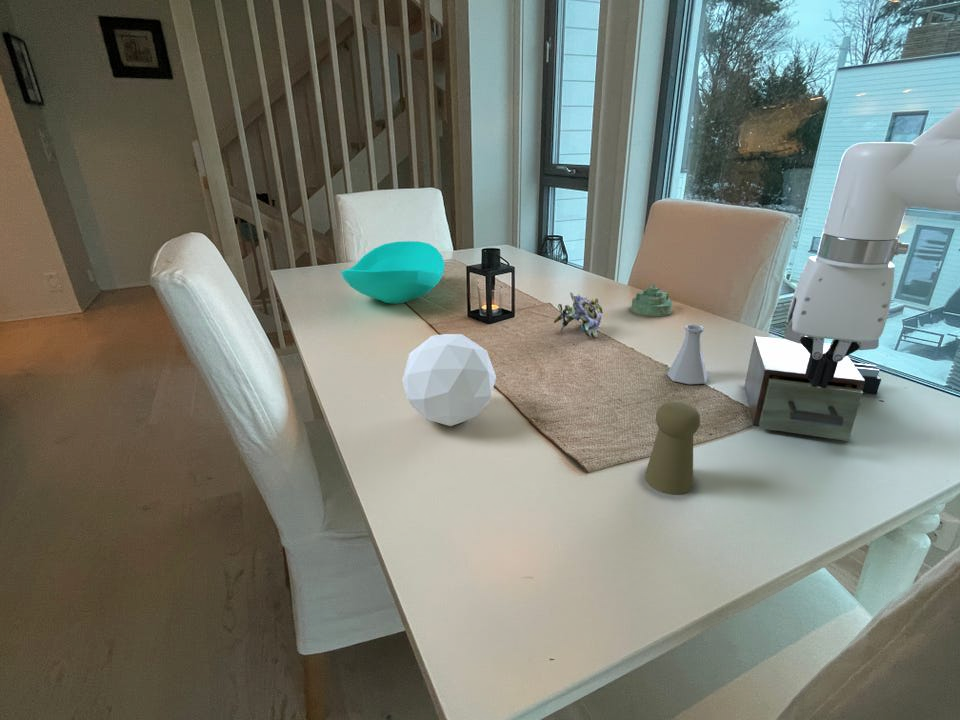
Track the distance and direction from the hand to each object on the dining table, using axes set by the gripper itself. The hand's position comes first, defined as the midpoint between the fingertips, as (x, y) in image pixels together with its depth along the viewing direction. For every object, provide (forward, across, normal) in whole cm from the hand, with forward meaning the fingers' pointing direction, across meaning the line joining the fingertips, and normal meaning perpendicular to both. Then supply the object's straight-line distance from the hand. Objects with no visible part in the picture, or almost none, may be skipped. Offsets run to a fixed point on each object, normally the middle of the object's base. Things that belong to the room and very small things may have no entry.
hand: (816, 383), depth 71 cm
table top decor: (+11, +94, -48) cm, 106 cm away
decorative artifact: (+10, +24, -59) cm, 65 cm away
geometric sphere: (+11, +52, +9) cm, 53 cm away
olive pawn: (+10, +18, +15) cm, 25 cm away
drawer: (+9, 0, -6) cm, 11 cm away
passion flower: (+11, +40, -36) cm, 54 cm away
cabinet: (+10, 0, -11) cm, 15 cm away
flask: (+10, +16, -19) cm, 27 cm away
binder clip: (+10, -12, -23) cm, 28 cm away
